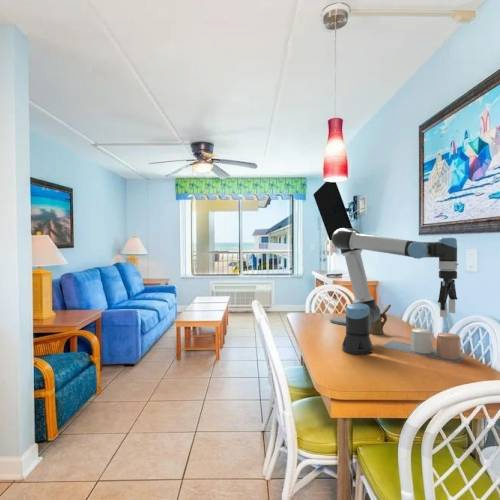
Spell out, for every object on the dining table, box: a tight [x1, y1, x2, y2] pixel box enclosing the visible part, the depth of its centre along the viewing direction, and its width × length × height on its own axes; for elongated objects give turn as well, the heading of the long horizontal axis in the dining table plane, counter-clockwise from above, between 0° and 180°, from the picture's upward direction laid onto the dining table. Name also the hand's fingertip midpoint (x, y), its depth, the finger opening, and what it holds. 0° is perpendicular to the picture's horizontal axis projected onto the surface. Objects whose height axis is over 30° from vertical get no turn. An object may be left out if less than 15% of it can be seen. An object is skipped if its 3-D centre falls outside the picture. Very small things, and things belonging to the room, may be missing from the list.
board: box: [379, 340, 468, 364], centre depth 171 cm, size 16×36×2 cm, turn 44°
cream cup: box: [410, 327, 434, 353], centre depth 171 cm, size 9×9×10 cm
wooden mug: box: [369, 304, 392, 335], centre depth 211 cm, size 9×14×18 cm, turn 75°
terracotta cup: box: [436, 332, 461, 359], centre depth 162 cm, size 9×9×10 cm
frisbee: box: [330, 316, 346, 326], centre depth 239 cm, size 20×27×3 cm
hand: (447, 314), depth 163 cm, fingers open, 13 cm apart
